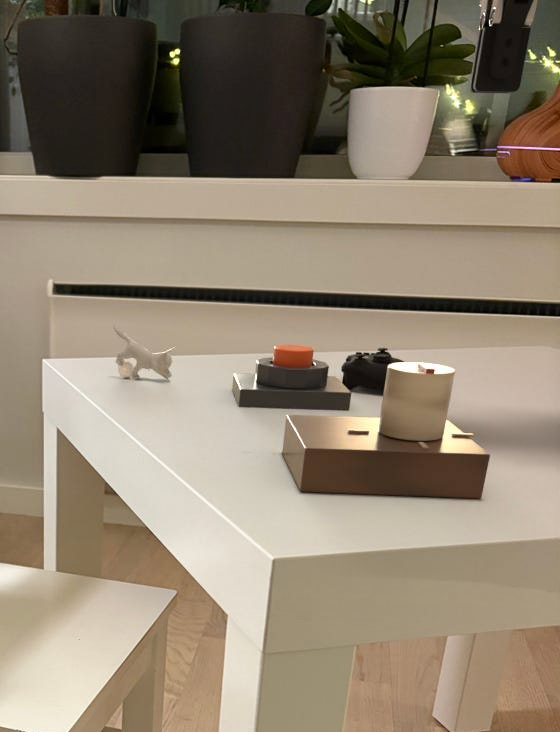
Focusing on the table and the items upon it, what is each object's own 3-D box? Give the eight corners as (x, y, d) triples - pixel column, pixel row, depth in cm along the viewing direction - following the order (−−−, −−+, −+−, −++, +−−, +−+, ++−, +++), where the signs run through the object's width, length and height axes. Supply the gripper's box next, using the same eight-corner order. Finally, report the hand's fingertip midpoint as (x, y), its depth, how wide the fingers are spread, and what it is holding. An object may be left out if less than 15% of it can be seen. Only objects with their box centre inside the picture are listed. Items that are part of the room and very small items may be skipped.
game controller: (420, 386, 93) (364, 340, 93) (383, 427, 96) (328, 382, 96) (422, 370, 101) (370, 327, 101) (388, 408, 104) (337, 366, 104)
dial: (371, 425, 70) (381, 356, 68) (432, 427, 70) (445, 358, 68) (386, 440, 66) (397, 368, 64) (451, 442, 66) (464, 370, 64)
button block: (334, 393, 96) (338, 357, 94) (349, 411, 88) (354, 372, 87) (232, 390, 96) (235, 354, 95) (238, 407, 89) (242, 368, 87)
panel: (445, 459, 74) (452, 417, 72) (486, 498, 65) (495, 452, 63) (281, 453, 74) (286, 412, 73) (299, 491, 65) (305, 445, 64)
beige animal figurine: (145, 406, 99) (181, 365, 97) (88, 351, 99) (123, 309, 96) (153, 400, 102) (188, 360, 99) (98, 347, 102) (132, 305, 99)
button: (308, 364, 92) (310, 345, 92) (314, 371, 89) (316, 351, 88) (270, 363, 93) (272, 344, 92) (274, 369, 89) (276, 350, 89)
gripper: (459, -189, 71) (416, 98, 79) (531, -275, 57) (471, 82, 65) (564, -189, 70) (511, 100, 78) (662, -275, 57) (585, 84, 65)
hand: (493, 91), depth 72 cm, fingers closed
